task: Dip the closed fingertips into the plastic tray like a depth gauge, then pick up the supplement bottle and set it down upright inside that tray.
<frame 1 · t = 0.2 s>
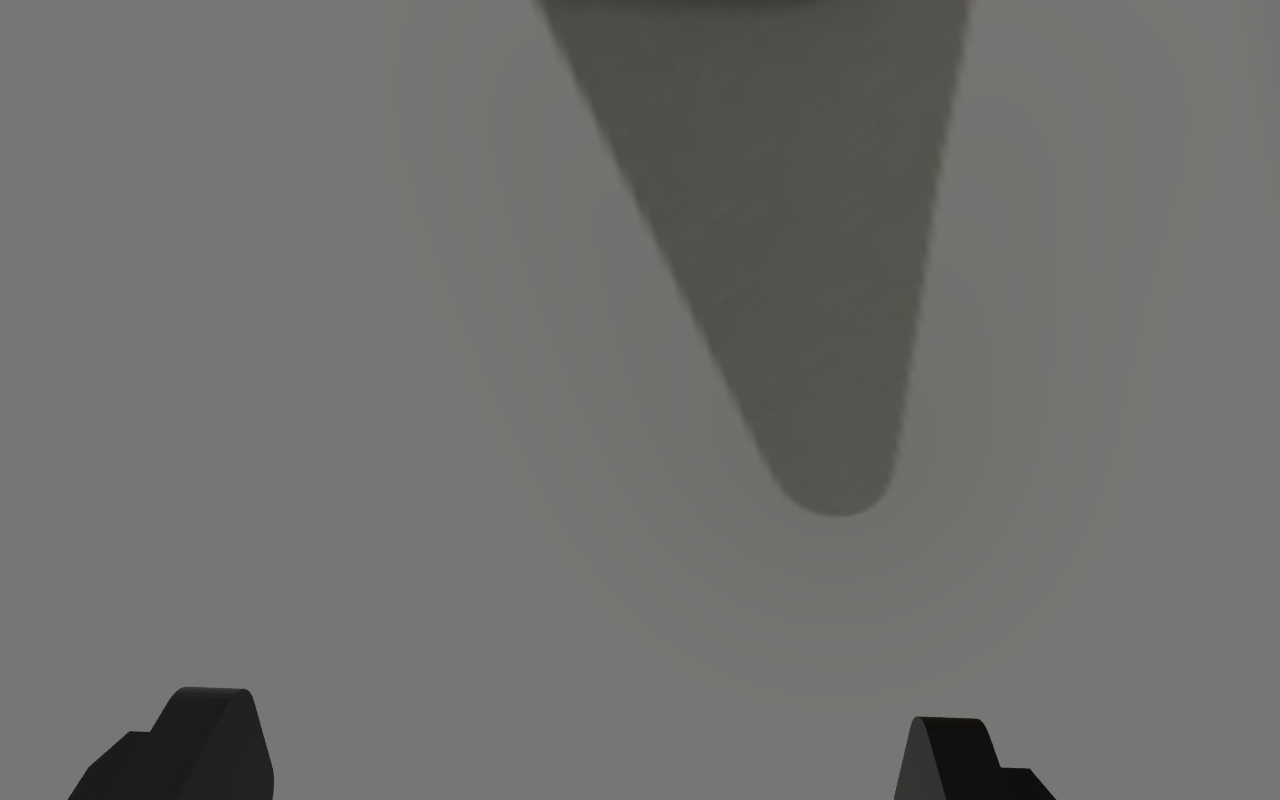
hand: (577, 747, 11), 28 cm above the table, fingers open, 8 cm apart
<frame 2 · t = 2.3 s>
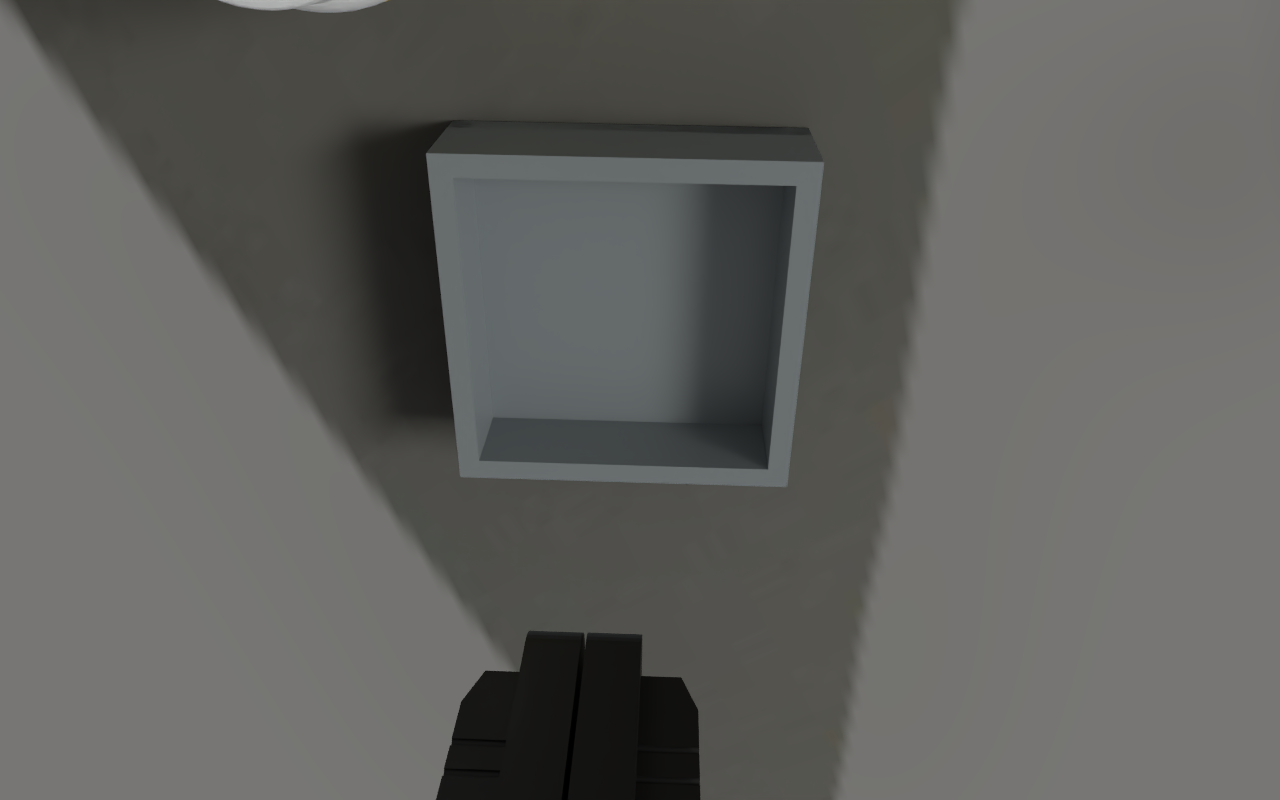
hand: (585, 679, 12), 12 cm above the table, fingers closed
tray: (628, 288, 23), on the table
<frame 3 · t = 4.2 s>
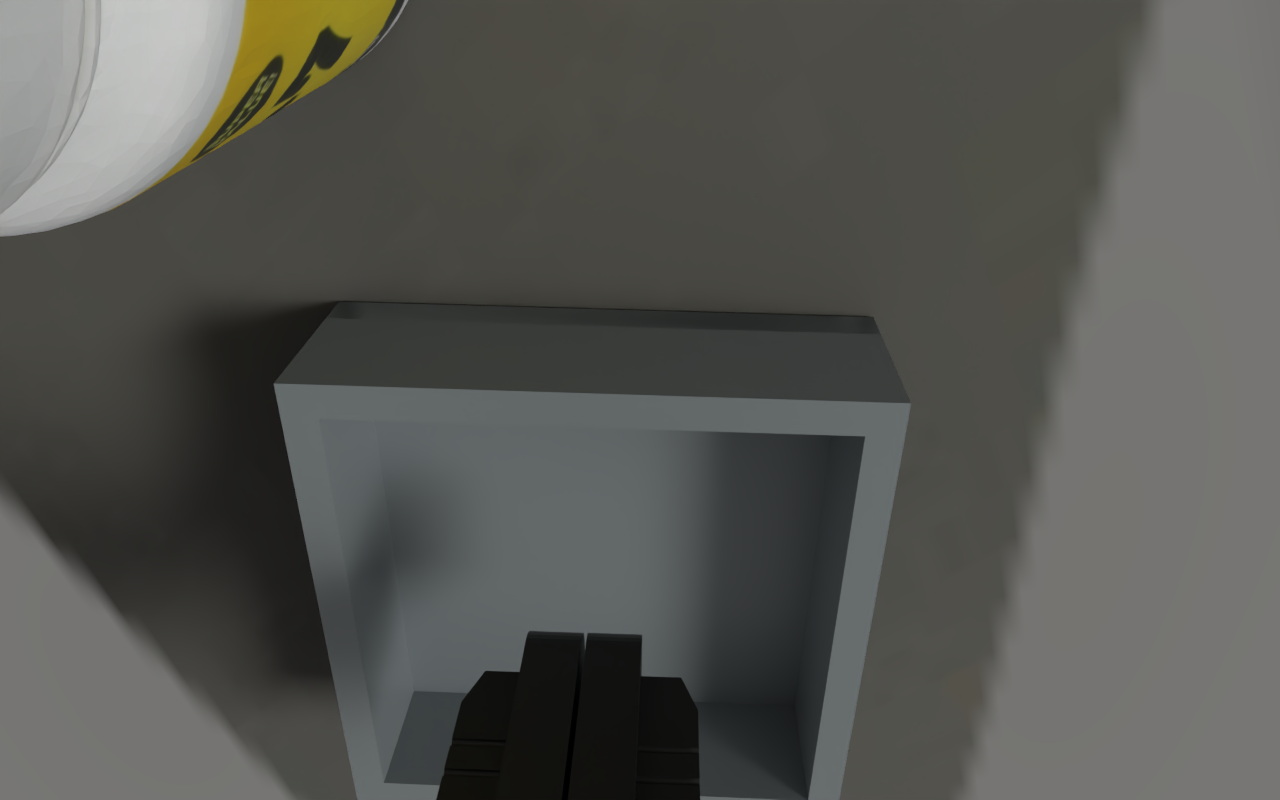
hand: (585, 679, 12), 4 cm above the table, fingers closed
tray: (605, 524, 16), on the table
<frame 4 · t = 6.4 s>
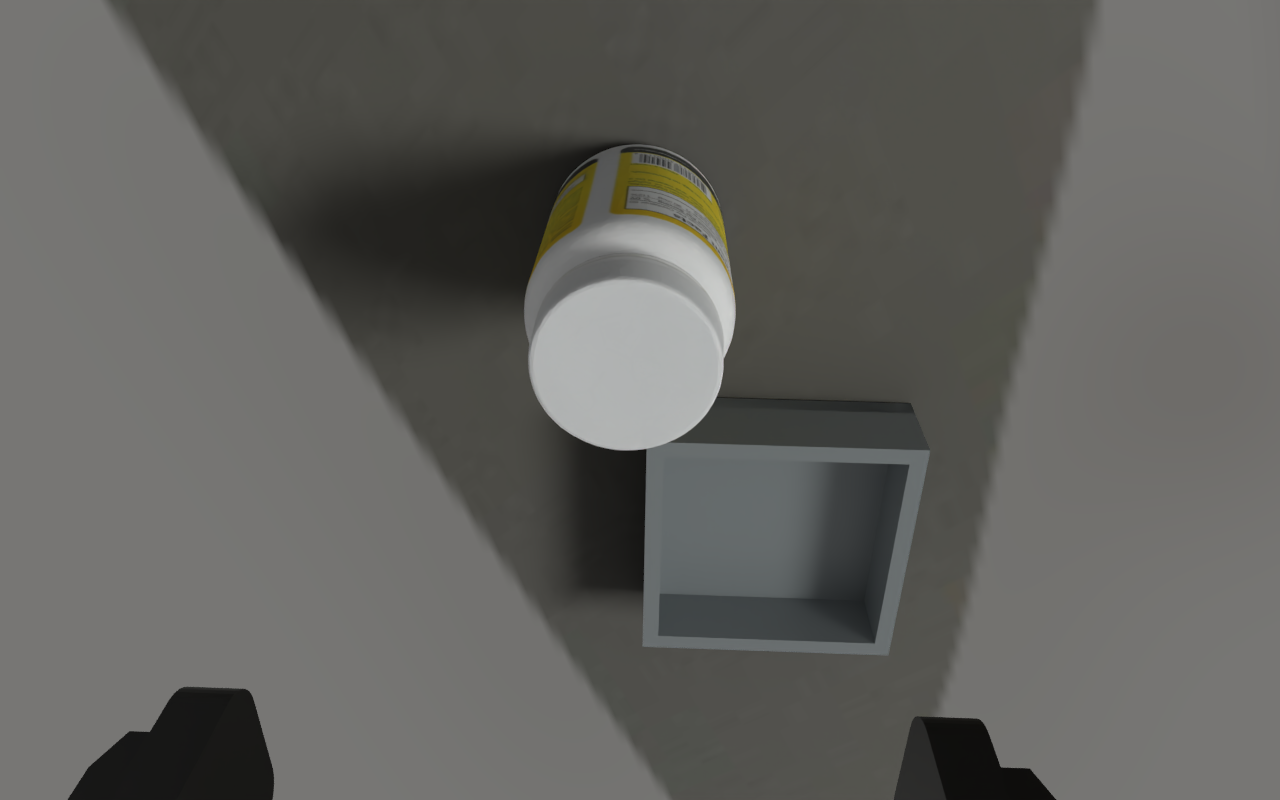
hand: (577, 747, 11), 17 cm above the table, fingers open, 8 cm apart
supplement bottle: (638, 223, 26), on the table
tray: (768, 504, 31), on the table
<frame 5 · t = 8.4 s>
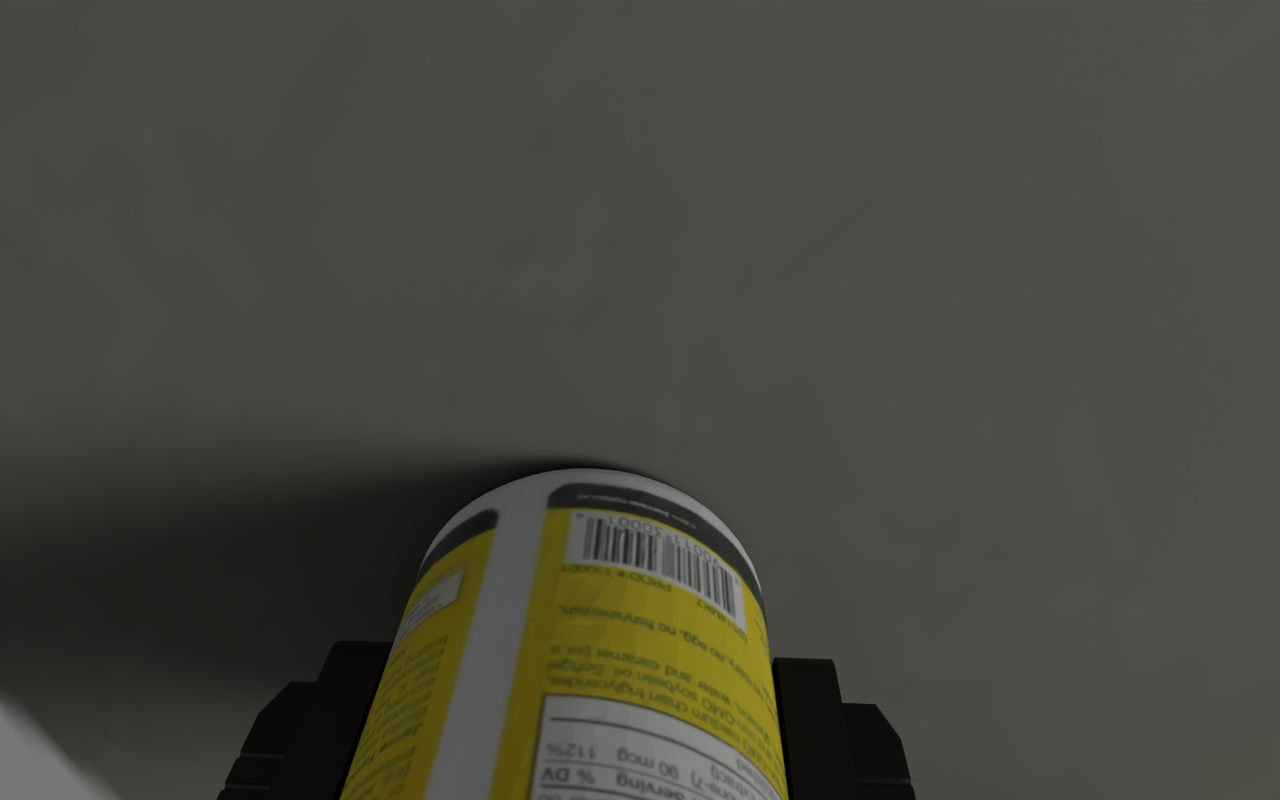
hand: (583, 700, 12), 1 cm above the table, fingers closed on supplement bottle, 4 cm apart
supplement bottle: (594, 587, 13), on the table, touching gripper
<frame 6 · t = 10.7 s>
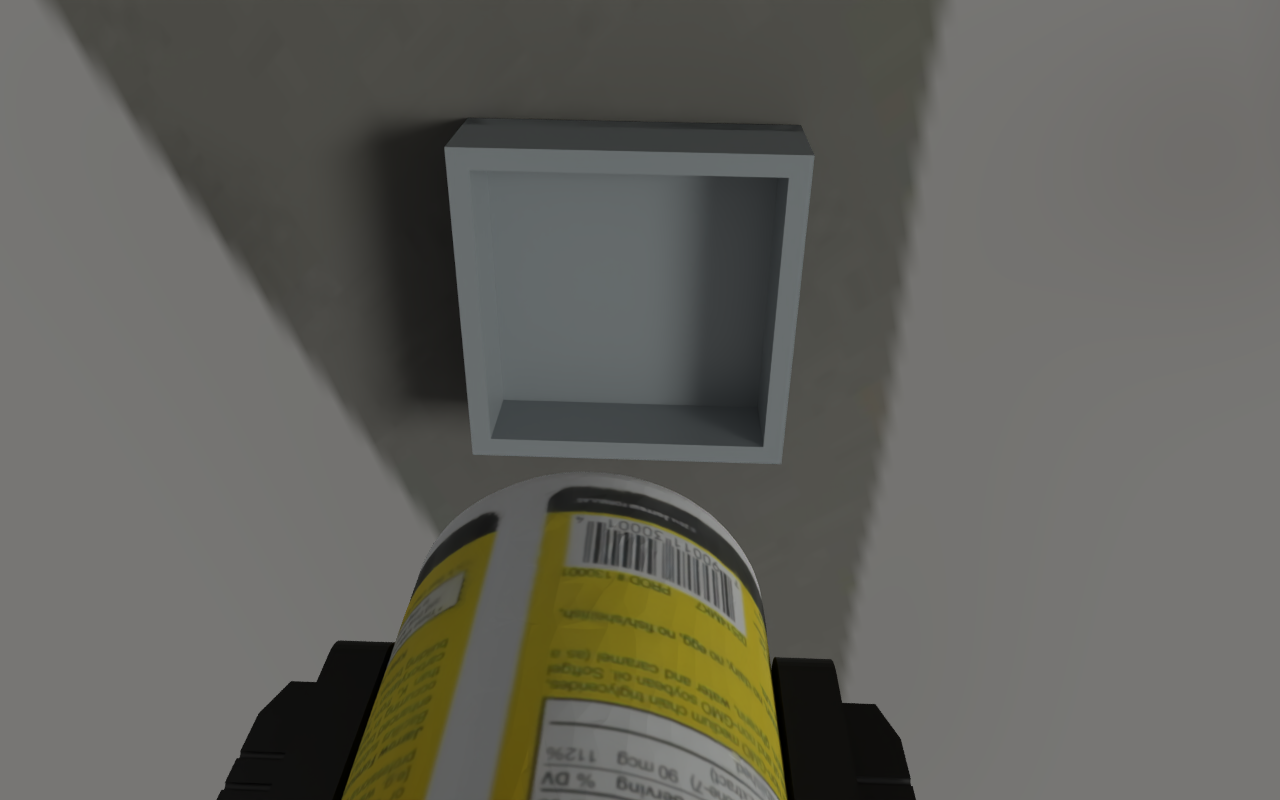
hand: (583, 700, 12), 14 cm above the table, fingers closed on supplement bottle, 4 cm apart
supplement bottle: (594, 590, 13), point 13 cm above the table, touching gripper
tray: (632, 276, 24), on the table
when the fingers open (4 cm above the table, at t = 12.9 s): supplement bottle drops 2 cm, resting on tray.
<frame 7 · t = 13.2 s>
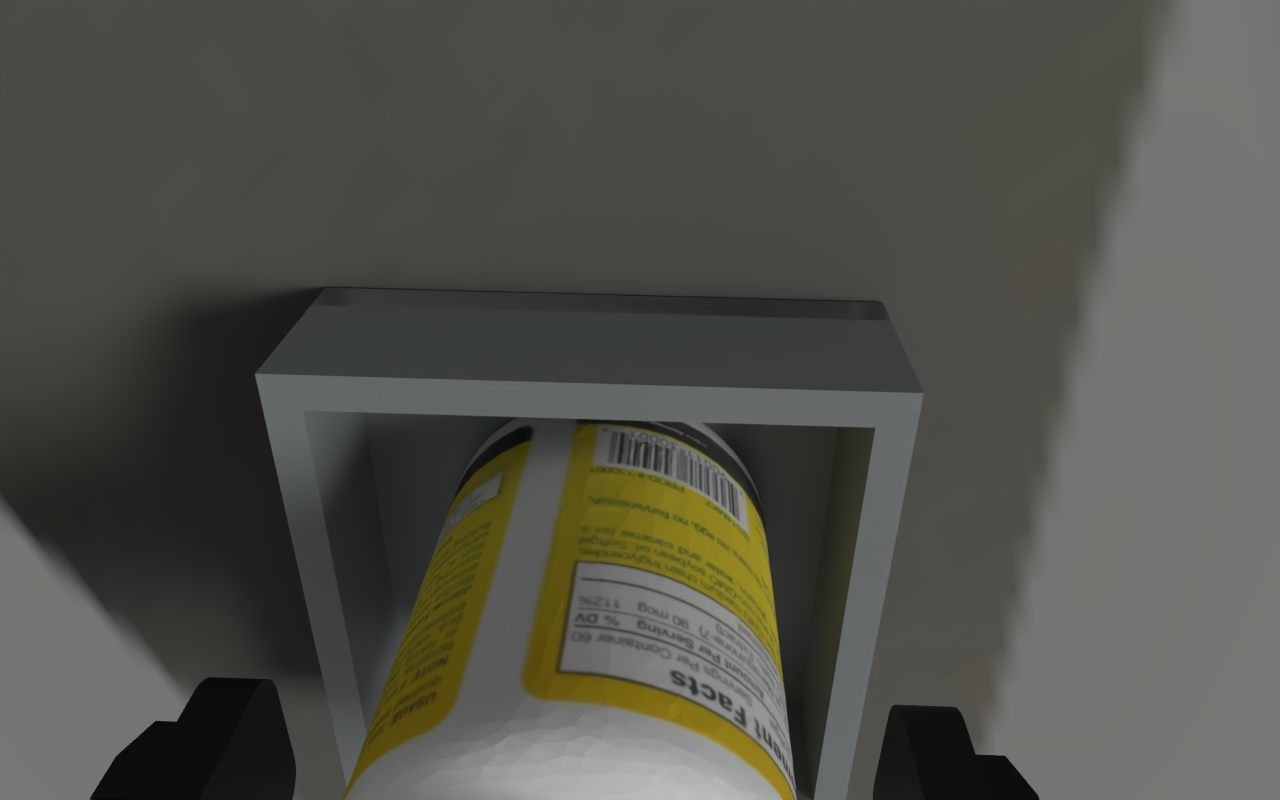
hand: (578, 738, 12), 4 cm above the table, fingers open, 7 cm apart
supplement bottle: (613, 508, 15), resting on tray
tray: (603, 517, 15), on the table
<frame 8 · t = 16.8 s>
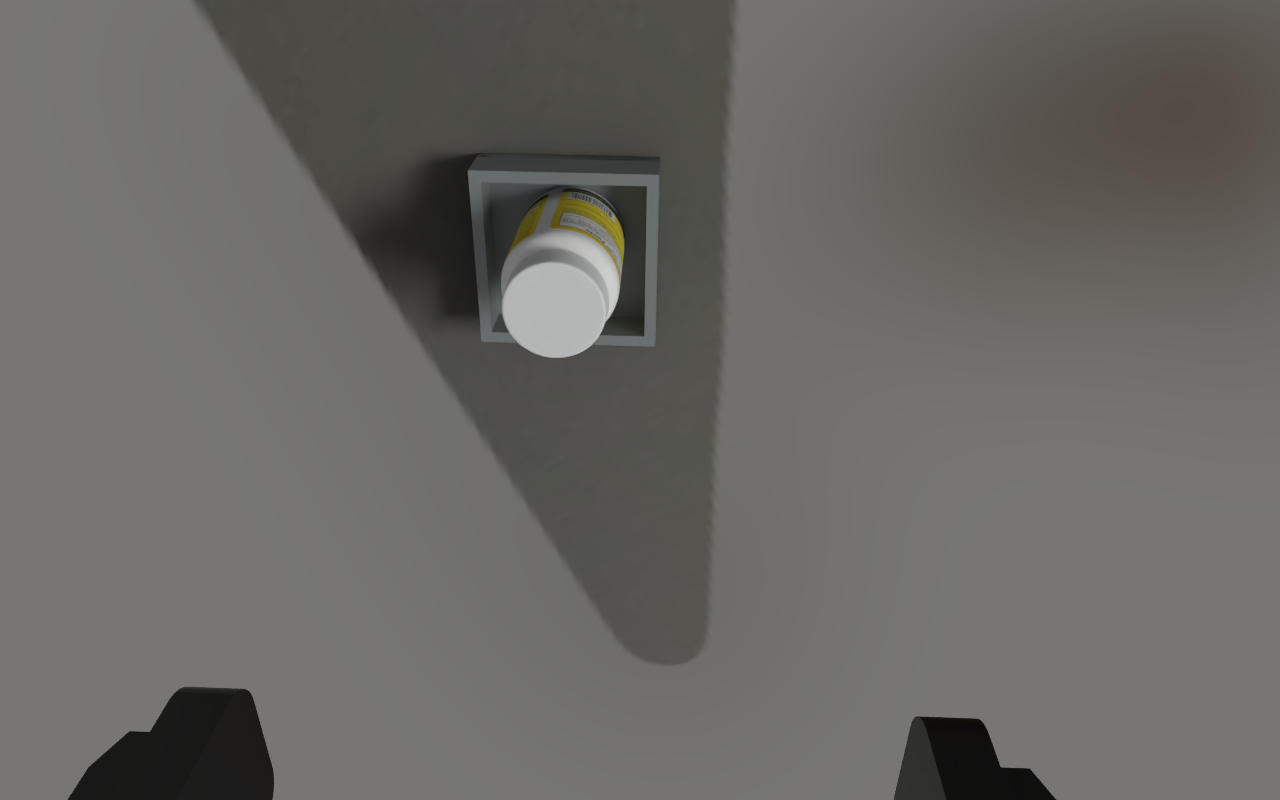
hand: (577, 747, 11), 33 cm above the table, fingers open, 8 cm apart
supplement bottle: (574, 233, 42), resting on tray
tray: (571, 241, 43), on the table
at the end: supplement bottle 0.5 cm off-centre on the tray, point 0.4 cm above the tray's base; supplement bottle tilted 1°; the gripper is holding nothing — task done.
